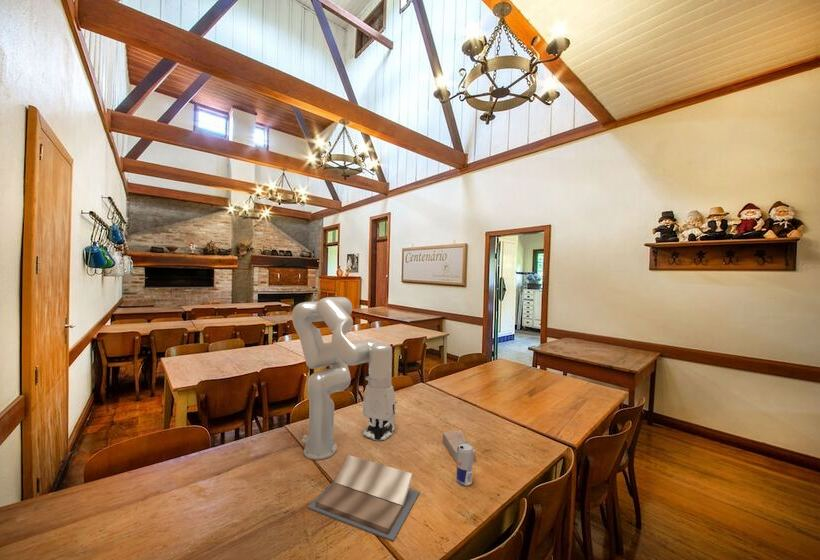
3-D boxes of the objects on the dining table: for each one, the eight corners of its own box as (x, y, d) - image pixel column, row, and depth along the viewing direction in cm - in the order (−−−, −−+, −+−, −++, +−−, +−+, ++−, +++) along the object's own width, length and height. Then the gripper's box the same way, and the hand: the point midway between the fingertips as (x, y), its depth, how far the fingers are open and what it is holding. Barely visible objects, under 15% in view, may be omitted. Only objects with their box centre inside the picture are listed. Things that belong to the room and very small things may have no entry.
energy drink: (454, 476, 107) (455, 442, 107) (469, 476, 107) (470, 442, 107) (458, 486, 102) (459, 450, 102) (474, 486, 102) (475, 450, 102)
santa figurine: (380, 420, 148) (382, 369, 148) (403, 429, 140) (405, 375, 139) (355, 434, 134) (357, 378, 134) (379, 445, 126) (381, 385, 126)
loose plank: (336, 484, 99) (334, 482, 99) (349, 457, 106) (347, 454, 105) (403, 507, 90) (402, 505, 90) (412, 475, 97) (412, 473, 96)
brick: (476, 462, 116) (476, 450, 116) (456, 464, 114) (456, 452, 114) (459, 440, 132) (460, 429, 132) (441, 442, 131) (442, 431, 131)
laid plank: (315, 506, 90) (315, 501, 90) (333, 487, 98) (334, 483, 98) (388, 534, 81) (388, 528, 81) (401, 511, 89) (401, 506, 89)
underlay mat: (307, 508, 90) (307, 506, 90) (346, 470, 108) (346, 468, 108) (393, 541, 79) (393, 539, 79) (419, 493, 98) (419, 491, 98)
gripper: (354, 381, 99) (353, 438, 99) (395, 388, 94) (394, 448, 93) (366, 375, 106) (364, 428, 106) (405, 381, 101) (404, 437, 100)
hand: (378, 437), depth 100 cm, fingers closed
